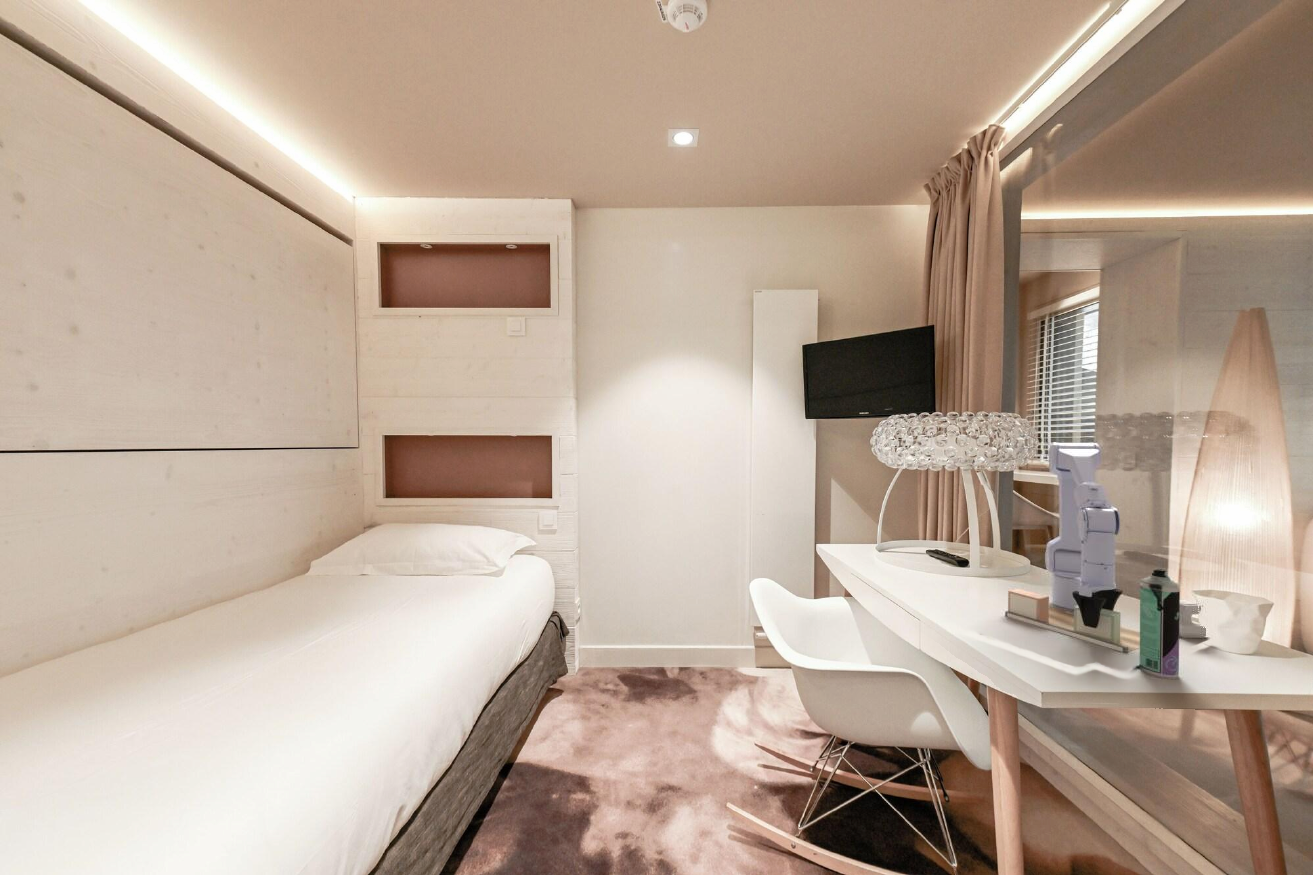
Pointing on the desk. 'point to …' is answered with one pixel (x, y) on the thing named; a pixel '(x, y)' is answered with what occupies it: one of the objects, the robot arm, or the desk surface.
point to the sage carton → (1100, 625)
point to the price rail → (1068, 632)
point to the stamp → (1190, 621)
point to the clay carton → (1029, 604)
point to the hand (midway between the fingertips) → (1097, 623)
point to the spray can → (1159, 625)
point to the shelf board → (1067, 621)
